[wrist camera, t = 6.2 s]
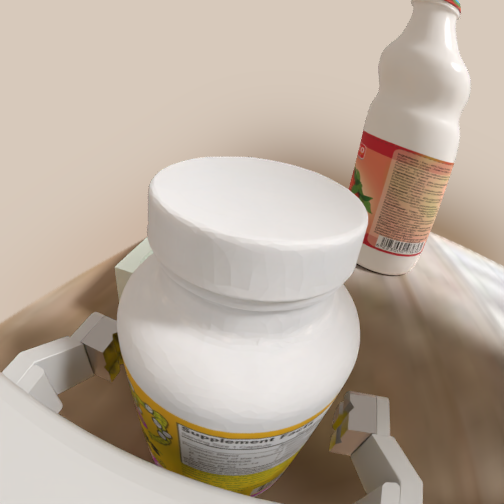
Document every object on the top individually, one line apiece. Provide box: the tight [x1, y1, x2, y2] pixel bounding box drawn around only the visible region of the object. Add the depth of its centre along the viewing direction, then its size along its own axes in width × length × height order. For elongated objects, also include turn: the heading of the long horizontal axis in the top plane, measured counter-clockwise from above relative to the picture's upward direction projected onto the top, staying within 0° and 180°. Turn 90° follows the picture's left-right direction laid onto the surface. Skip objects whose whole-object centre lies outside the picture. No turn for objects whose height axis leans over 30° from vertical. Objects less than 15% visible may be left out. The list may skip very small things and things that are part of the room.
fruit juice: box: [349, 0, 471, 275], centre depth 25 cm, size 9×9×28 cm
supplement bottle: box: [117, 157, 368, 497], centre depth 10 cm, size 7×7×13 cm
